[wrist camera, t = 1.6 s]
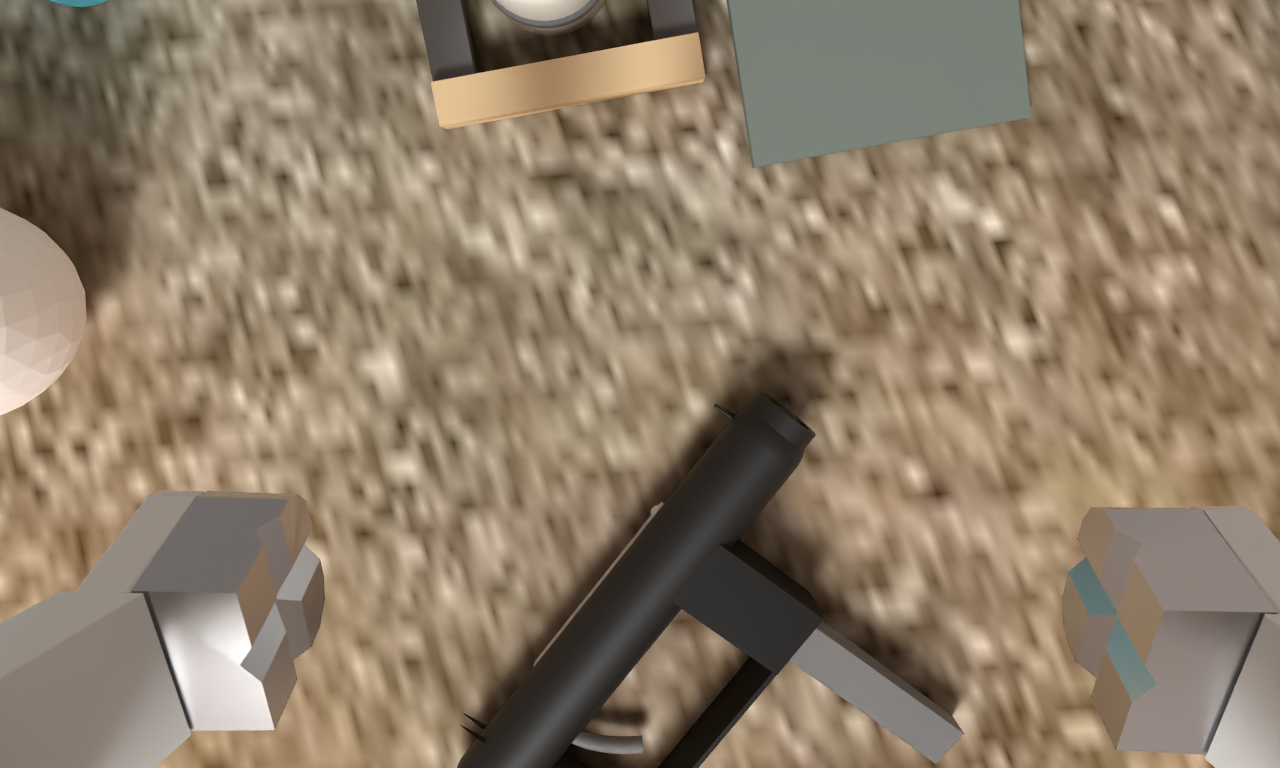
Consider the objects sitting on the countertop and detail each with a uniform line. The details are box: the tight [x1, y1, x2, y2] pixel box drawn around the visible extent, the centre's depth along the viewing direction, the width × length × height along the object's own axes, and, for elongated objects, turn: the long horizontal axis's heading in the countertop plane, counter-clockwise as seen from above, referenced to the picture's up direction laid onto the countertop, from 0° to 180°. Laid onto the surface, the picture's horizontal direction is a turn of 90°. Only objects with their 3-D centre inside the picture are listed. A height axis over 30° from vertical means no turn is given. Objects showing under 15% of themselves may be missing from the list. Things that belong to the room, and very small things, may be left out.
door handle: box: [457, 392, 964, 768], centre depth 39 cm, size 3×20×16 cm
